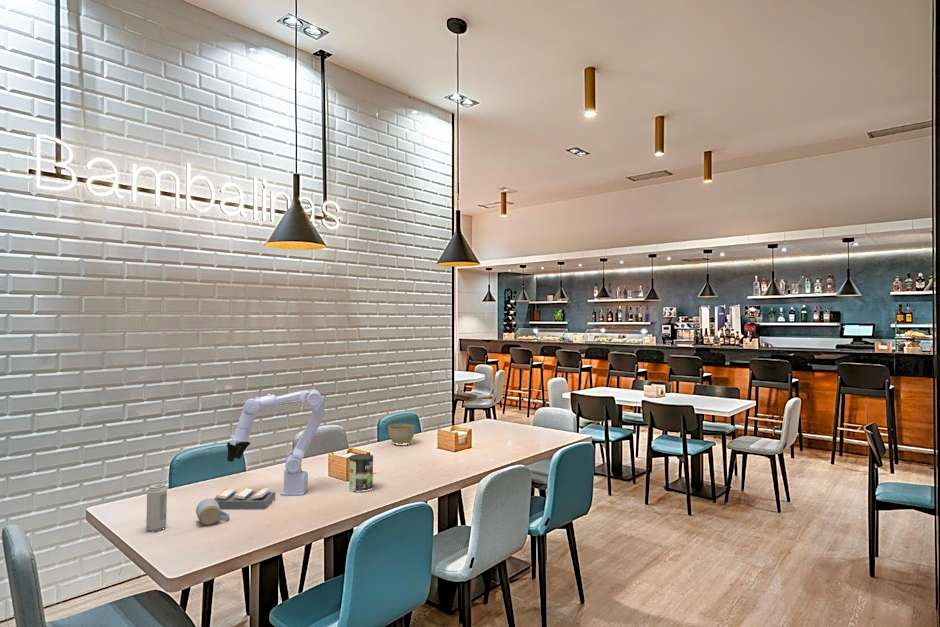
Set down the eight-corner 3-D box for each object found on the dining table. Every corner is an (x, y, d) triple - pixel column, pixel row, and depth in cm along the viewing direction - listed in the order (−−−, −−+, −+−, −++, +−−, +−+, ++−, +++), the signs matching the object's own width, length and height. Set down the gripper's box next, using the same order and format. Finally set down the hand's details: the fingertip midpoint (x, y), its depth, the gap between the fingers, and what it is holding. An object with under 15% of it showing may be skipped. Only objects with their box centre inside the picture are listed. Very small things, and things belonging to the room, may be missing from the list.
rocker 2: (270, 490, 221) (269, 487, 221) (262, 497, 212) (261, 494, 212) (260, 492, 221) (259, 489, 221) (252, 499, 212) (251, 496, 212)
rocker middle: (252, 492, 221) (253, 489, 221) (243, 499, 212) (244, 496, 212) (242, 490, 221) (243, 487, 221) (233, 497, 212) (234, 494, 212)
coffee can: (377, 486, 241) (377, 454, 241) (365, 493, 231) (365, 460, 231) (356, 484, 244) (357, 452, 244) (344, 491, 234) (344, 458, 235)
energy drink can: (151, 525, 193) (152, 483, 193) (169, 525, 193) (170, 483, 193) (142, 532, 187) (143, 488, 187) (161, 532, 187) (161, 488, 187)
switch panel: (275, 499, 223) (275, 491, 223) (264, 509, 211) (264, 501, 211) (223, 499, 222) (223, 491, 222) (209, 509, 210) (209, 501, 210)
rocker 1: (235, 492, 221) (235, 489, 221) (225, 499, 212) (226, 496, 212) (225, 490, 221) (226, 487, 221) (215, 497, 212) (216, 494, 212)
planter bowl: (383, 446, 320) (383, 427, 320) (395, 440, 335) (395, 422, 335) (408, 448, 315) (408, 429, 315) (419, 442, 330) (419, 424, 330)
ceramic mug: (198, 528, 191) (199, 506, 191) (195, 521, 198) (196, 499, 198) (231, 522, 197) (232, 501, 197) (226, 516, 204) (227, 495, 204)
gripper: (241, 423, 233) (231, 454, 232) (227, 426, 219) (216, 459, 217) (257, 427, 233) (247, 458, 232) (244, 431, 219) (233, 464, 217)
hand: (233, 459), depth 225 cm, fingers open, 7 cm apart
